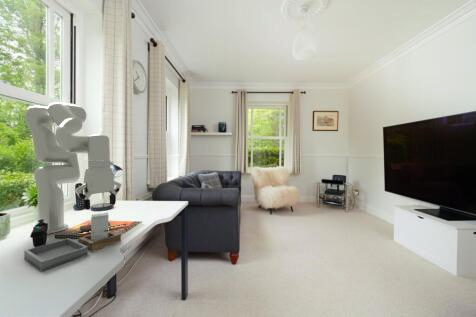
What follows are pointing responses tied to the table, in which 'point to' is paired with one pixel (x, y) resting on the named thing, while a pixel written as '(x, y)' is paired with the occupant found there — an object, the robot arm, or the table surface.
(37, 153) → the robot arm
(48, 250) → the tray
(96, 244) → the holder
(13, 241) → the table surface
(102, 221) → the skincare box
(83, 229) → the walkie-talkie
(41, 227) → the controller
